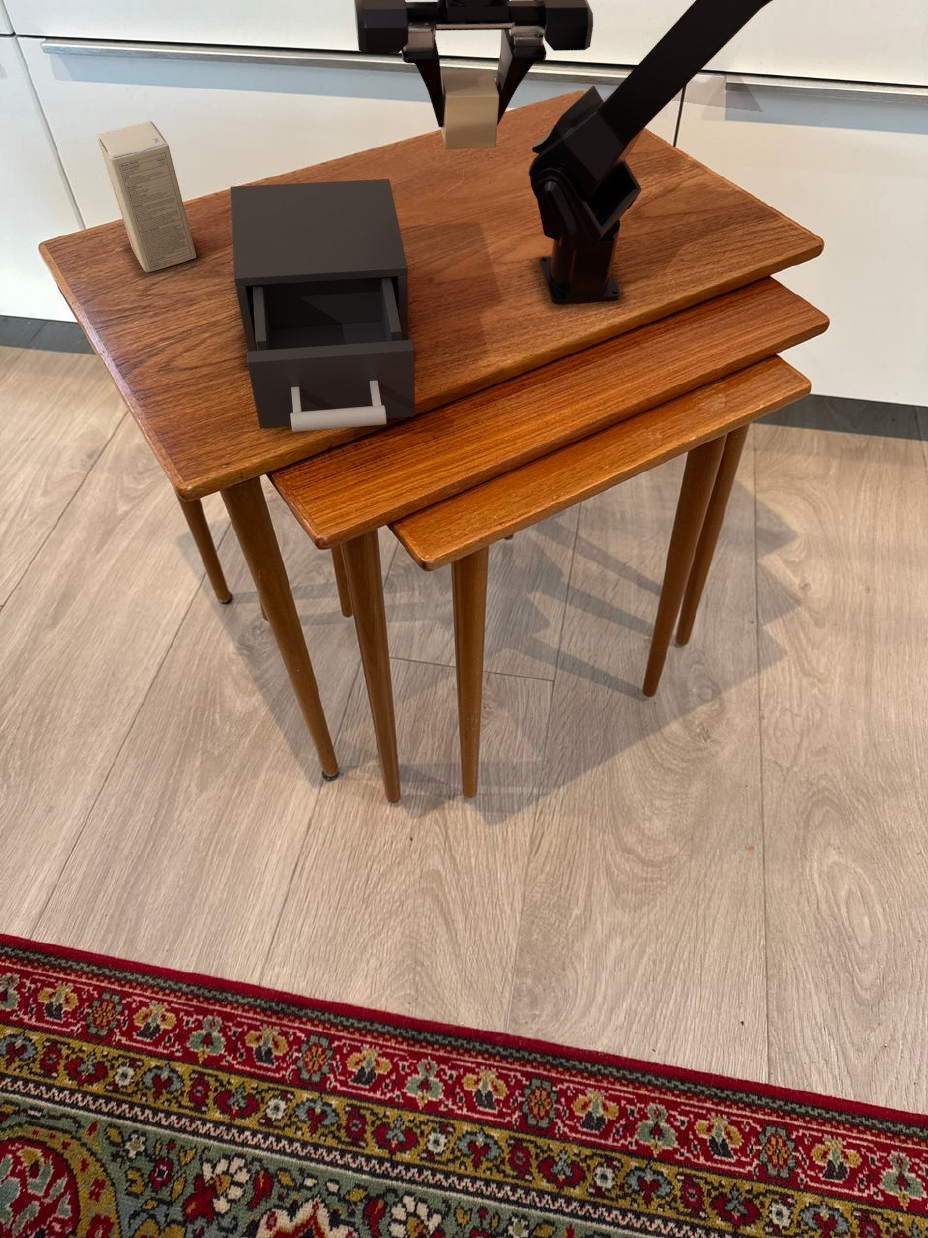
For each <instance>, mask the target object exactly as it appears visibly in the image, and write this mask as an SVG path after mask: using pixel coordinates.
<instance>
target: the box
mask: <svg viewBox="0 0 928 1238" xmlns="http://www.w3.org/2000/svg"><path fill="white" fill-rule="evenodd" d="M96 138H97V141H98V144H99V147H100V150H101V154H102V157H103V160H104V164H105V166H106V170H107V173H108V176H109V179H110V183H111V185H112V190H113V192H114V195H115V198H116V202H117V206H118V209H119V211H120V214H121V218H122V221H123V224H124V227H125V230H126V233H127V237H128V240H129V243H130V246H131V250H132V251H133V253H134V255H135V257H136V258H137V261H138V262H139V264H140V266H141V267H142V269H143V271H144V272H145V273H151V272H155V271H158V270H162V269H166V268H168V267H171V266H174V265H179V264H182V263H185V262H187V261H190V260H193V259H196V258H197V254H196V248H195V244H194V241H193V240H194V239H193V236H192V233H191V229H190V225H189V221H188V217H187V213H186V209H185V205H184V201H183V198H182V193H181V189H180V185H179V182H178V177H177V174H176V169H175V165H174V161H173V157H172V154H171V149H170V144H169V143H168V142H167V140H166V138H165V137H164V135H163V134H162V133H161V131H160V130H159V128H158V127H157V126H156V124H155V123H154V122H153V121H151V120H149V121H145V122H140V123H137V124H133V125H129V126H125V127H121V128H116V129H113V130H109V131H105V132H101V133H98V134H97V135H96Z"/></svg>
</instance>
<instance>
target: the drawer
mask: <svg viewBox="0 0 928 1238" xmlns="http://www.w3.org/2000/svg"><path fill="white" fill-rule="evenodd" d="M253 300H254V317H255V335H256V345H257V350H258V351H249V352H248V351H247V352H246V365H247V369H248V375H249V381H250V384H251V390H252V395H253V399H254V400H253V401H254V406H255V409H256V415H257V420H258V425H259V429H260V430H265V429H267V430H268V429H279V428H290V427H291V431H292V432H293V433H299V432H311V431H321V430H322V431H323V430H324V431H325V430H331V429H332V430H334V429H335V430H337V429H345V428H358V427H360V428H361V427H369V426H381V425H387V419H388V420H389V419H398V418H410V417H412V418H413V417H415V416H416V375H415V373H416V365H415V364H416V362H415V361H416V351H415V345H414V344H415V343H414V341H413V339H408V340H402V341H401V327H400V321H399V316H398V311H397V306H396V300H395V295H394V290H393V284H392V279H391V277H378V278H362V279H346V280H331V281H315V282H299V283H283V284H267V285H253Z"/></svg>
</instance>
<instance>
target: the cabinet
mask: <svg viewBox="0 0 928 1238" xmlns="http://www.w3.org/2000/svg"><path fill="white" fill-rule="evenodd" d="M229 190H230V191H229V192H230V216H231V217H230V218H231V239H232V240H231V241H232V266H233V267H232V269H233V281H234V286H235V291H236V297H237V303H238V309H239V313H240V318H241V323H242V328H243V334H244V340H245V345H246V350H247V352H249V351H258V350H257V345H256V335H255V317H254V300H253V285H267V284H283V283H299V282H315V281H331V280H346V279H362V278H378V277H391V279H392V284H393V290H394V295H395V300H396V306H397V311H398V316H399V321H400V327H401V341H402V340H409V267H408V262H407V258H406V253H405V248H404V243H403V238H402V232H401V228H400V224H399V218H398V213H397V210H396V209H397V208H396V205H395V200H394V194H393V191H392V184H391V181H390V178H377V179H375V178H374V179H357V180H356V179H355V180H336V181H335V180H334V181H333V180H332V181H314V182H295V183H293V182H292V183H276V184H256V185H254V184H253V185H237V186H236V185H235V186H230V187H229Z"/></svg>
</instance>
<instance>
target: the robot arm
mask: <svg viewBox="0 0 928 1238" xmlns="http://www.w3.org/2000/svg"><path fill="white" fill-rule="evenodd" d="M772 1H773V2H774V0H694V1H693V3H692V4H691V5H690V6H689V7H688V8H687V9H686V11H685V12H684V13H683V14H682V15H681V16H680V17H679V18H678V20H677V21H675V23H674V24H673V25H672V26H671V27H670V28H669V29H668V30H667V32H666V33H665V34H664V35H663V36H662V37H661V38H660V39H659V41H657V43H656V44H655V45H654V46H653V48H651V50H649V51H648V53H647V54H646V55H645V56H644V57H643V58H642V60H641V61H640V62H639V63H637V65H636V66H635V67H634V68H633V69H632V71H631V72H630V73H629V74H628V75H627V76H626V77H625V78H624V79H623V81H622V82H621V83H620V84H619V85H618V86H617V87H616V89H614V91H612V93H610V94H608V95H607V96H605V97H604V98H602V96H601V95H600V93H599V91H598V90H597V88H596V87H595V85H592V86H591V87H590V88H589V89H587V90H586V91H585V92H584V93H583V94H582V95H581V96H580V97H579V98H578V99H577V100H575V102H574V103H572V104H571V106H569V107H568V109H567V110H566V111H564V112H563V113H562V114H561V115H560V117H559V118H558V120H557V121H556V122H555V124H554V125H553V127H552V128H551V129H550V130H549V132H547V133H546V134H545V135H544V136H543V137H542V138H541V139H540V140H539V141H538V142H537V143H536V144H535V145H534V146H533V147H532V148H531V151H532V152H533V153H535V154H537V155H536V156H535V157H534V159H533V160H532V161H531V164H530V166H529V169H528V177H529V180H530V181H529V182H530V187H531V189H532V192H533V195H534V196H535V198H536V201H537V206H538V211H539V217H540V220H541V225H542V230H543V235H544V236H545V237H546V238H549V239H552V240H553V241H552V248H551V256H541V257H540V258H539V259H538V265H539V268H540V272H541V274H542V277H543V281H544V284H545V286H546V289H547V293H548V295H549V298H550V301H551V303H553V304H556V305H559V304H574V303H588V302H590V303H591V302H602V301H603V302H605V301H615V300H616V301H617V300H619V299H620V295H621V292H620V289H619V286H618V284H617V281H616V279H615V277H614V274H613V271H612V270H613V264H614V259H615V255H616V250H617V245H618V239H619V234H620V230H621V218H622V216H623V215H624V214H625V213H626V212H627V211H628V210H630V209H631V208H632V207H633V205H634V203H636V200H637V199H638V197H639V196H640V195H641V193H642V187H641V185H640V183H639V182H638V180H637V178H636V176H635V174H634V172H633V171H632V169H631V168H630V166H629V164H628V162H627V157H628V156H629V155H630V154H631V152H632V150H633V149H634V147H635V146H636V144H637V142H638V140H639V139H640V137H641V136H642V133H643V131H644V129H645V128H646V127H647V125H649V124H650V123H651V121H653V120H654V119H655V117H656V116H657V115H658V114H659V113H660V112H661V111H663V109H664V108H665V107H667V106H668V104H669V103H670V102H671V101H672V100H674V98H675V97H676V96H677V95H678V94H679V93H680V92H681V91H682V90H683V89H684V88H685V87H686V86H687V85H688V84H689V83H690V82H691V81H692V80H693V78H695V77H696V76H697V74H698V73H699V72H700V71H702V70H703V69H704V67H705V66H707V64H708V63H709V62H710V61H711V60H712V59H713V58H714V57H715V56H716V55H717V54H718V53H719V52H720V51H721V50H722V49H723V48H724V47H725V46H726V45H727V44H728V43H729V42H730V41H731V40H732V39H733V38H734V37H735V36H736V35H737V34H738V33H739V32H740V31H741V30H742V29H743V28H744V27H745V26H746V25H747V24H748V23H749V22H750V21H751V19H752V18H754V16H755V15H757V13H759V11H761V10H762V9H763V8H764V7H765V6H767V5H768V4H770V3H771V2H772ZM353 5H354V8H353V9H354V24H355V30H356V39H357V47H358V51H359V52H361V53H363V54H365V55H370V54H371V55H372V54H373V55H374V54H375V55H376V54H400V53H401V58H402V62H404V63H405V64H409V65H410V64H414V65H415V66H416V68H417V70H418V72H419V74H420V77H421V79H422V81H423V83H424V86H425V87H426V90H427V92H428V95H429V99H430V102H431V106H432V109H433V113H434V115H435V118H436V122H437V125H438V128H441V127H443V122H444V104H443V93H442V81H441V70H442V69H441V60H440V54H439V53H440V52H439V50H438V45H437V40H436V36H437V35H436V32H437V31H441V32H443V31H445V32H446V31H500V49H499V50H500V51H499V58H498V65H497V70H496V77H495V83H496V86H497V90H498V93H499V107H498V121H497V127H498V126H499V124H500V123H501V121H502V118H503V117H504V115H505V112H506V111H507V108H508V107H509V105H510V102H511V101H512V99H513V96H515V93H516V91H517V89H518V88H519V86H520V84H521V83H522V82H523V80H524V78H525V77H526V76H527V74H528V73H529V71H530V69H532V67H533V66H534V64H535V63H536V62H543V61H545V60H546V59H547V53H548V52H547V49H546V46H545V43H544V41H545V42H546V43H547V45H548V46H549V47H550V48H551V50H552V51H553V52H554V51H555V52H559V51H560V52H561V51H564V52H565V51H567V52H568V51H586V50H587V49H590V48H591V43H592V36H593V29H594V13H593V11H592V8H591V6H590V3H589V1H588V0H437V1H406V0H353Z"/></svg>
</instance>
